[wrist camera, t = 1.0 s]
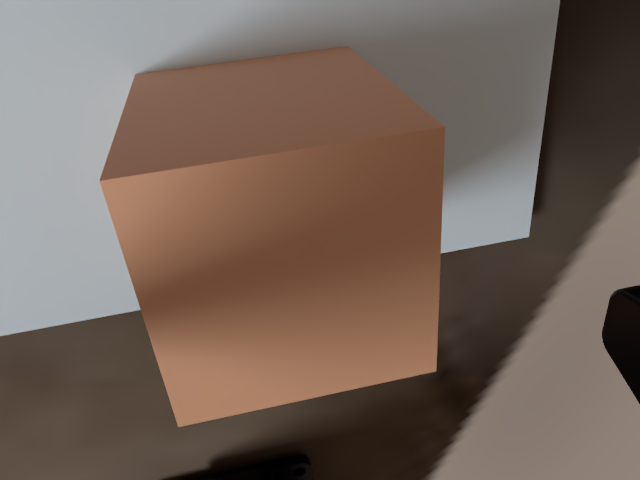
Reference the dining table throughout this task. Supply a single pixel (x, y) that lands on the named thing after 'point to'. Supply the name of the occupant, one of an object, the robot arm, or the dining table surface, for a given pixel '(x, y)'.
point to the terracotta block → (279, 228)
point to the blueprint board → (232, 45)
